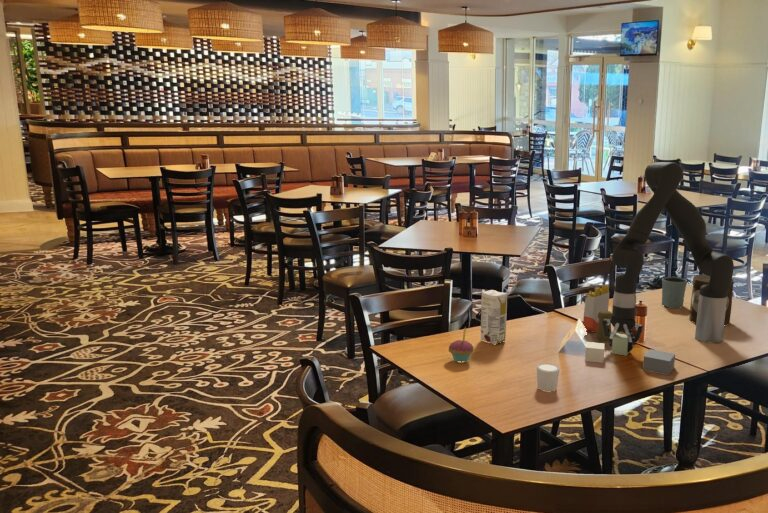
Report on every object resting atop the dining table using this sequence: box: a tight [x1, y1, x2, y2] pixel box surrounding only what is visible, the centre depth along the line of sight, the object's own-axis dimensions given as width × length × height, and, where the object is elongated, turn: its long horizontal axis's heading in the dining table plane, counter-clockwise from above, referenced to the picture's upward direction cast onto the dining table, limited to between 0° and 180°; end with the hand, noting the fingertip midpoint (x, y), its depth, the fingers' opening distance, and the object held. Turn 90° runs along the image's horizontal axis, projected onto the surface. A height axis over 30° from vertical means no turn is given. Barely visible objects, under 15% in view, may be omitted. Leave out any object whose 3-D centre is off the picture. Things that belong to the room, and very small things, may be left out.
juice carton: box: [480, 289, 508, 345], centre depth 238 cm, size 8×9×19 cm
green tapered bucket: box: [661, 276, 688, 309], centre depth 283 cm, size 10×10×12 cm
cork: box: [594, 310, 612, 343], centre depth 241 cm, size 6×6×11 cm
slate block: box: [642, 349, 676, 376], centre depth 213 cm, size 8×8×5 cm
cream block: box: [584, 341, 605, 364], centre depth 222 cm, size 6×6×5 cm
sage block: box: [611, 332, 630, 357], centre depth 227 cm, size 5×5×6 cm
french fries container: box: [582, 285, 610, 334], centre depth 251 cm, size 5×11×18 cm, turn 131°
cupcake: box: [448, 326, 474, 362], centre depth 220 cm, size 9×8×12 cm
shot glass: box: [536, 363, 560, 392], centre depth 198 cm, size 7×7×7 cm
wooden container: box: [688, 273, 734, 326], centre depth 259 cm, size 15×15×22 cm
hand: (620, 349), depth 228 cm, fingers closed on sage block, 5 cm apart
